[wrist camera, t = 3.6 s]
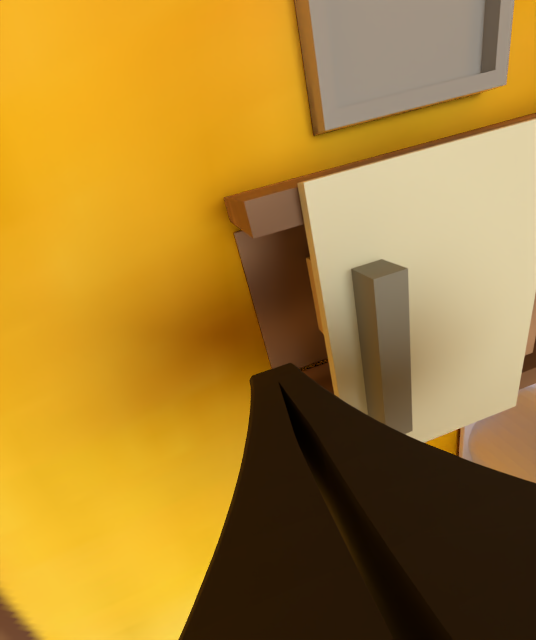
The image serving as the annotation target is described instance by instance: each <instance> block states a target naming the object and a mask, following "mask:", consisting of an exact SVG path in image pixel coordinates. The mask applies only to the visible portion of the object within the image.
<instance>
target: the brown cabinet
mask: <svg viewBox="0 0 536 640" xmlns="http://www.w3.org/2000/svg"><path fill="white" fill-rule="evenodd" d="M534 118H536V113H534V114H530V115H526V116H523V117H519V118H515V119H512V120H508V121H504V122H501V123H497V124H493V125H490V126H486V127H482V128H478V129H475V130H471V131H467V132H464V133H460V134H456V135H453V136H449V137H445V138H442V139H438V140H434V141H431V142H427V143H423V144H419V145H416V146H412V147H408V148H405V149H401V150H397V151H394V152H390V153H386V154H383V155H379V156H375V157H371V158H368V159H364V160H360V161H357V162H353V163H349V164H346V165H342V166H338V167H335V168H331V169H327V170H324V171H320V172H316V173H312V174H309V175H305V176H301V177H298V178H294V179H290V180H287V181H283V182H279V183H276V184H272V185H268V186H264V187H261V188H257V189H253V190H250V191H246V192H242V193H239V194H235V195H231V196H228V197H224V201H225V204H226V208H227V211H228V215H229V218H230V221H231V222H232V223H233V224H234V225H236V226H237V227H238V228H240V229H241V231H237V232H234V236H235V240H236V243H237V247H238V250H239V254H240V258H241V261H242V265H243V268H244V272H245V275H246V279H247V282H248V286H249V290H250V293H251V297H252V300H253V304H254V307H255V311H256V314H257V318H258V321H259V325H260V329H261V332H262V336H263V339H264V343H265V346H266V350H267V353H268V357H269V361H270V364H271V368H272V369H273V368H276V367H279V366H282V365H285V364H288V363H292V364H294V365H295V366H296V367H298V368H301V367H304V366H307V365H310V364H313V363H316V362H318V361H321V360H324V359H327V358H328V355H327V350H326V344H325V338H324V334H323V333H322V332H321V331H320V330H319V327H318V322H317V316H316V311H315V305H314V300H313V294H312V289H311V283H310V278H309V272H308V267H307V261H306V258H307V257H310V253H309V247H308V242H307V236H306V230H305V225H304V219H303V213H302V208H301V202H300V196H299V191H298V185H297V183H299V182H303V181H307V180H310V179H314V178H318V177H321V176H325V175H329V174H332V173H336V172H340V171H343V170H347V169H351V168H354V167H358V166H362V165H365V164H369V163H373V162H376V161H380V160H384V159H387V158H391V157H395V156H398V155H402V154H406V153H409V152H413V151H417V150H420V149H424V148H428V147H431V146H435V145H438V144H442V143H446V142H449V141H453V140H457V139H460V138H464V137H468V136H471V135H475V134H479V133H482V132H486V131H490V130H493V129H497V128H501V127H504V126H508V125H512V124H515V123H519V122H523V121H526V120H530V119H534ZM302 372H304V373H305V374H306V375H307V376H309V377H310V378H311V379H313V380H314V381H315V382H317V383H318V384H319V385H321V386H322V387H324V388H325V389H327V390H328V391H330V392H331V393H333V394H334V390H333V384H332V378H331V373H330V367H329V362H327V363H324V364H322V365H319V366H316V367H313V368H310V369H307V370H304V371H302ZM535 383H536V294H535V299H534V305H533V311H532V316H531V322H530V328H529V334H528V339H527V345H526V351H525V357H524V362H523V368H522V374H521V379H520V385H519V390H520V389H523V388H525V387H528V386H530V385H533V384H535Z"/></svg>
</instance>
